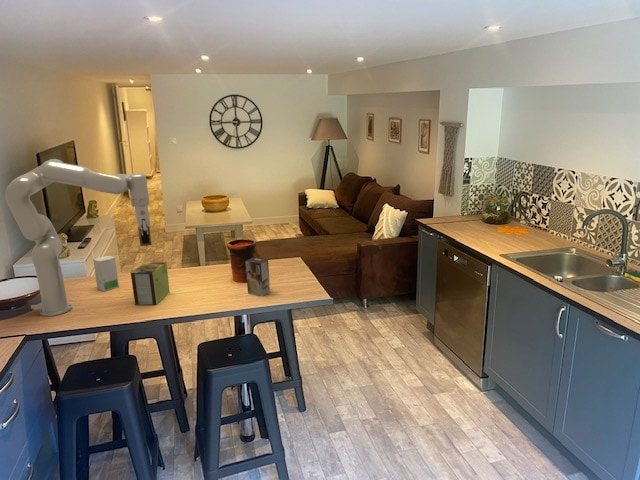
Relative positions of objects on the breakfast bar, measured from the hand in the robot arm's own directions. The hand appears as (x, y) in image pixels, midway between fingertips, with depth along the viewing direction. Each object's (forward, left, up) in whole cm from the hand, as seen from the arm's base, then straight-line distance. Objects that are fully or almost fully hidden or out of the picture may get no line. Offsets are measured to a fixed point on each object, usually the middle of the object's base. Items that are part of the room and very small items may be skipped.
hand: (145, 241), depth 214 cm
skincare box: (-18, +25, -28) cm, 41 cm away
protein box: (0, 0, -28) cm, 28 cm away
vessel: (+45, +4, -28) cm, 53 cm away
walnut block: (0, 0, -1) cm, 1 cm away
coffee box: (+46, -17, -28) cm, 56 cm away
